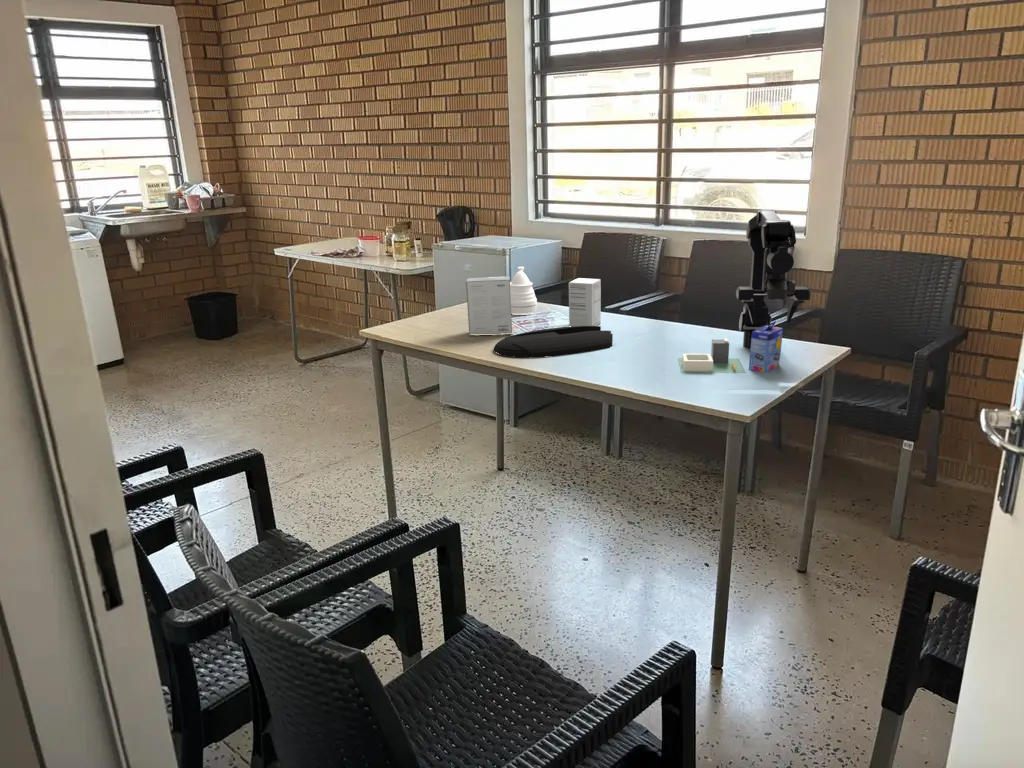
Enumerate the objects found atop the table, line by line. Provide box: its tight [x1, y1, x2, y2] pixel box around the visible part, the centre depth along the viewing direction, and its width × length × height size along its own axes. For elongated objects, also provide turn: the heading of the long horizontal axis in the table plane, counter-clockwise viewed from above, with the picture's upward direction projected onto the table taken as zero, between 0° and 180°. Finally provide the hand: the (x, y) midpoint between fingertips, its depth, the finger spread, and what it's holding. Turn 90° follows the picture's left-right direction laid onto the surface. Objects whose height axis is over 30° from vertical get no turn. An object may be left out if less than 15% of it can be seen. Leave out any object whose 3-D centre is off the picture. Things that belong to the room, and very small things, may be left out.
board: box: [677, 357, 747, 374], centre depth 220 cm, size 15×18×2 cm
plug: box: [710, 337, 730, 363], centre depth 223 cm, size 4×4×7 cm
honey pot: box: [510, 266, 538, 313], centre depth 301 cm, size 13×13×18 cm
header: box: [681, 353, 713, 371], centre depth 218 cm, size 8×8×3 cm
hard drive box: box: [465, 275, 513, 335], centre depth 268 cm, size 16×8×20 cm, turn 89°
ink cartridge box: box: [748, 320, 784, 373], centre depth 215 cm, size 10×6×14 cm, turn 138°
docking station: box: [493, 325, 614, 358], centre depth 251 cm, size 25×41×5 cm, turn 111°
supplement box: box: [568, 277, 602, 327], centre depth 276 cm, size 10×9×17 cm
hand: (770, 324), depth 208 cm, fingers open, 9 cm apart
